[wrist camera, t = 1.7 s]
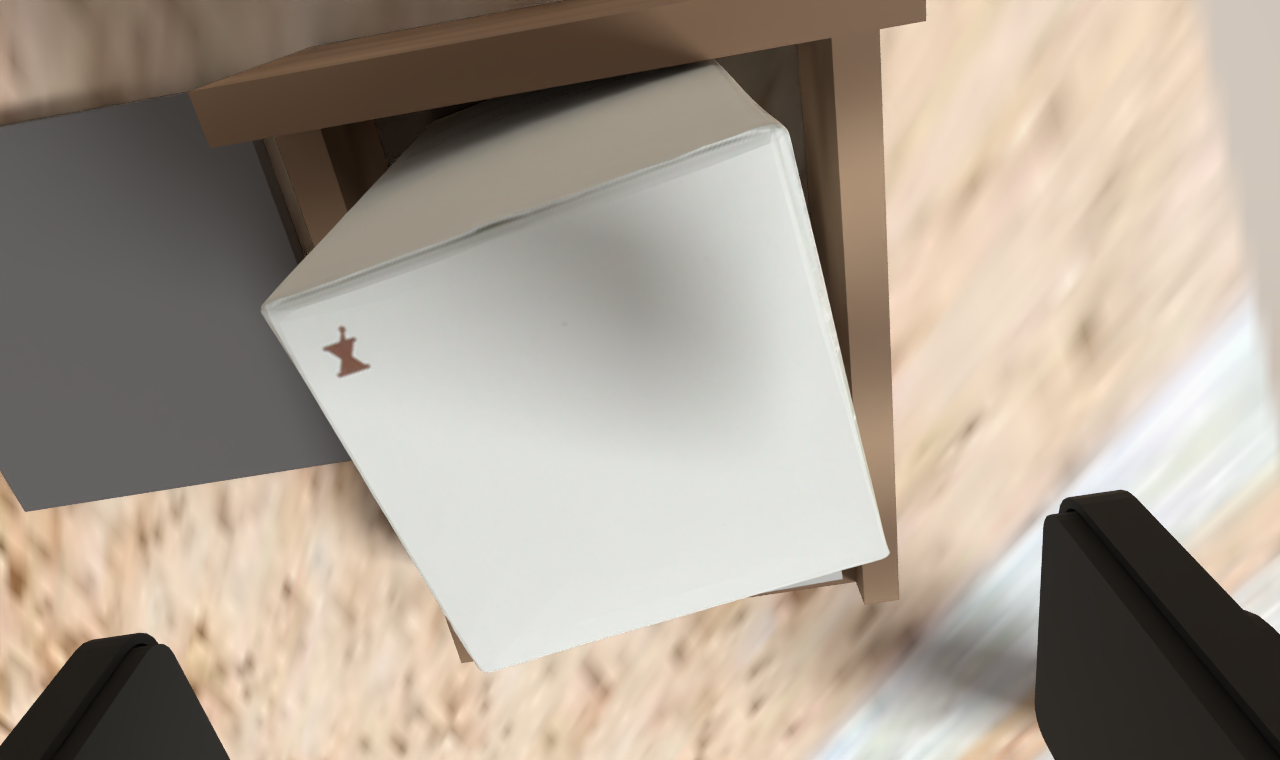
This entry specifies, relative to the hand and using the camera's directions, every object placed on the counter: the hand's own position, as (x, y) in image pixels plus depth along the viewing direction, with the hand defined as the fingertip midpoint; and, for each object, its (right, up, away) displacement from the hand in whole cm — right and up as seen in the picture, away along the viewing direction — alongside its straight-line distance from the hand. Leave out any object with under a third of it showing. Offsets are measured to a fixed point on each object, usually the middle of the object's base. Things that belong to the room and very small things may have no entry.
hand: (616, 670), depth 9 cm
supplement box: (-1, +8, +14) cm, 17 cm away
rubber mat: (-14, +5, +15) cm, 22 cm away
